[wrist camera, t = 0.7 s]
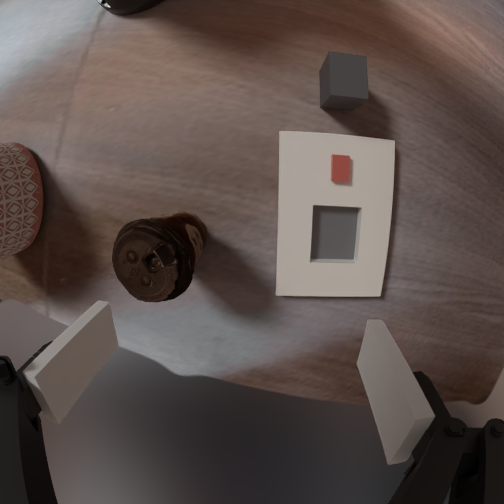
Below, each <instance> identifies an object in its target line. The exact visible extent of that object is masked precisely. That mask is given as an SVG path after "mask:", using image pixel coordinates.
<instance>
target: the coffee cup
mask: <svg viewBox="0 0 504 504" xmlns="http://www.w3.org/2000/svg"><path fill="white" fill-rule="evenodd" d="M205 243H206V235H205V230H204V228H203V226H202V223H201V221H200V220H198V218H197V217H196V216H195V215H194V214H192V213H186V212H176V213H173V214H172V215H170V216H169V215H161V216H156V217H152V218H150V219H140V220H136V221H133V222H130V223H128V224H126V225H125V226H124V227H123V228H122V229H121V230H120V231H119V233H118V236H117V238H116V241H115V243H114V248H113V255H112V262H113V267H114V270H115V273H116V276H117V278H118V279H119V280H120V282H121V283H122V284H123V286H124V287H125V288H126V290H127V291H128V292H129V293H130V294H131V295H132V296H133V297H135V298H137V299H138V300H142V301H145V302H160V301H167V300H171V299H175V298H176V297H178V296H179V295H181V294H182V293H183V292H185V291H186V289H187V288H188V287H189V285H190V283H191V281H192V278H193V277H192V275H193V273H194V268H195V266H196V264H197V262H198V260H199V258H200V255H201V253H202V250H203V248H204V246H205Z"/></svg>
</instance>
